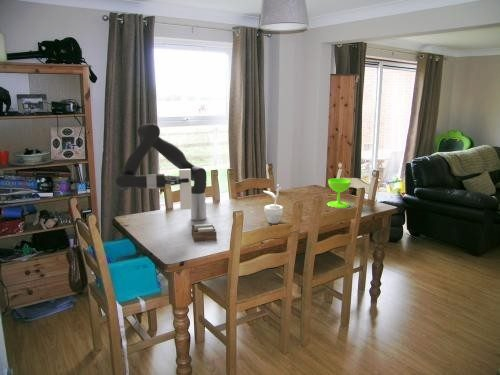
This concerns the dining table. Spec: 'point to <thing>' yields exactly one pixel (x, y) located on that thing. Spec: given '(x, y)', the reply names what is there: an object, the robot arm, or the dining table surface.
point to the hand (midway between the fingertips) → (188, 179)
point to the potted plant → (273, 208)
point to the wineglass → (339, 186)
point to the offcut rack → (203, 235)
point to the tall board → (185, 189)
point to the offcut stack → (204, 227)
